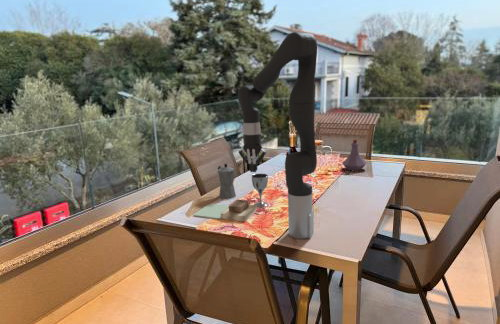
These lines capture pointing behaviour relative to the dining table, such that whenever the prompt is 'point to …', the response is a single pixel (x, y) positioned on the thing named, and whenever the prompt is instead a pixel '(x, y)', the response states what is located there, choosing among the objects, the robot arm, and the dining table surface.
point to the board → (239, 214)
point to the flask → (354, 159)
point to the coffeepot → (226, 182)
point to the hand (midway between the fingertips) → (253, 171)
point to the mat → (211, 211)
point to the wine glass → (260, 186)
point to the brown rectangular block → (238, 206)
